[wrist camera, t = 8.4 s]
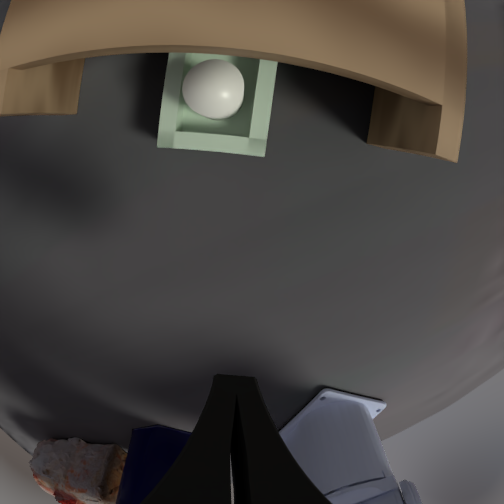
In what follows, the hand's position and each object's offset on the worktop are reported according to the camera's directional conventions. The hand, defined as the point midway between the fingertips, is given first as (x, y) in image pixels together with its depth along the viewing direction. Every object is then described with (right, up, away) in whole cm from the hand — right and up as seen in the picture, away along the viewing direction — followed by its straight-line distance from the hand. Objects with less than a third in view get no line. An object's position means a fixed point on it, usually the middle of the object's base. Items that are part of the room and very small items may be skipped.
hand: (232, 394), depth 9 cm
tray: (-1, +14, +4) cm, 15 cm away
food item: (-20, -20, +18) cm, 34 cm away
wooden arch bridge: (-1, +16, +4) cm, 17 cm away
